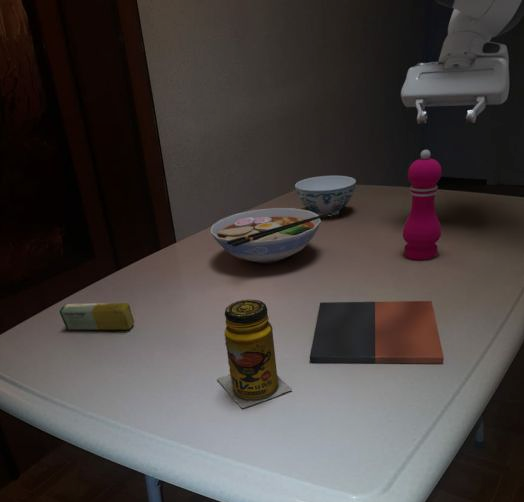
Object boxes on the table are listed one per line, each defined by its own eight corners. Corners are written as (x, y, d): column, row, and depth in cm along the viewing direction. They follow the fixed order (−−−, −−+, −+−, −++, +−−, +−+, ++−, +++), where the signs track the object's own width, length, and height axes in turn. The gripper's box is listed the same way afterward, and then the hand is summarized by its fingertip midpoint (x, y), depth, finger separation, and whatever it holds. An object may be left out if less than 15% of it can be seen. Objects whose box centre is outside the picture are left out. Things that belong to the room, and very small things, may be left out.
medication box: (65, 331, 95) (57, 311, 93) (72, 322, 97) (65, 302, 95) (129, 330, 93) (123, 309, 90) (135, 321, 95) (129, 301, 92)
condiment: (242, 409, 70) (230, 324, 64) (216, 379, 77) (204, 300, 71) (292, 391, 73) (286, 308, 67) (263, 363, 79) (255, 286, 73)
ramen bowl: (284, 231, 132) (281, 197, 128) (349, 254, 115) (348, 215, 111) (191, 260, 120) (185, 223, 116) (248, 289, 103) (243, 247, 99)
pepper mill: (430, 263, 106) (437, 154, 96) (395, 258, 110) (398, 153, 101) (445, 251, 111) (452, 146, 101) (411, 246, 115) (415, 145, 105)
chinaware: (365, 215, 137) (365, 184, 133) (308, 225, 134) (306, 193, 130) (342, 202, 150) (341, 172, 146) (289, 211, 147) (287, 181, 143)
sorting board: (431, 306, 90) (431, 300, 90) (443, 363, 75) (443, 357, 74) (320, 307, 94) (320, 302, 93) (310, 362, 78) (309, 356, 78)
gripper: (407, 52, 113) (389, 112, 111) (515, 44, 103) (498, 109, 101) (413, 75, 118) (396, 131, 116) (516, 69, 108) (500, 131, 106)
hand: (445, 121), depth 108 cm, fingers open, 8 cm apart
